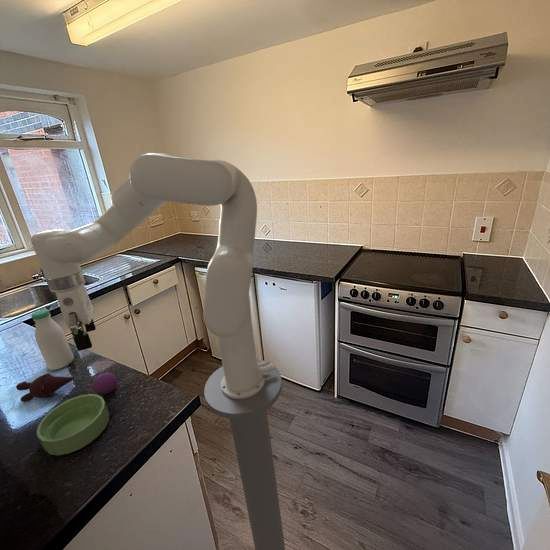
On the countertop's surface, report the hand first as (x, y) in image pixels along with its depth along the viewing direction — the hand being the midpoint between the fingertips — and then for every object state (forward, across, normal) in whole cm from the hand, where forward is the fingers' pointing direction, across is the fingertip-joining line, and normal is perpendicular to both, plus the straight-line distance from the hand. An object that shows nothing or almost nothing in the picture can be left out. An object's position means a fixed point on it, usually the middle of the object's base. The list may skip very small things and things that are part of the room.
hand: (87, 339), depth 80 cm
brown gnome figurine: (+19, +9, +16) cm, 26 cm away
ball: (+16, +1, 0) cm, 16 cm away
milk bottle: (+19, +26, +16) cm, 36 cm away
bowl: (+18, -11, +6) cm, 22 cm away
